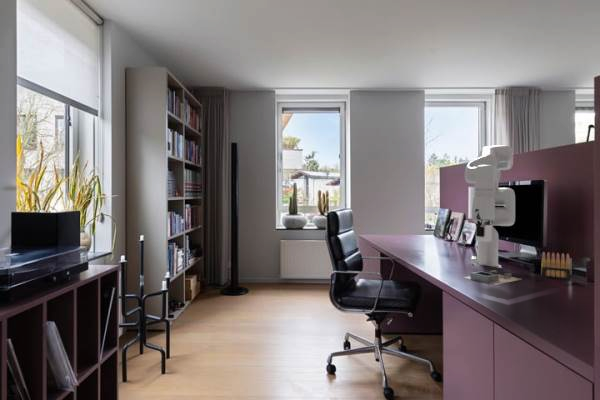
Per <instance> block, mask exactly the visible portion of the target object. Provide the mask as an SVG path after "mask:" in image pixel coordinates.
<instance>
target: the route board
mask: <svg viewBox="0 0 600 400" xmlns="http://www.w3.org/2000/svg"><path fill="white" fill-rule="evenodd" d="M489 273H492V274H497V275H499V281H495V282H490V283H489V284H491V285H495V286H497V285H501V284H505V283H511V282H516V281H522V280H523V279H522V278H520V277H519V278H518V277H514V276H512V273H511V272H507V273H503V274H499V271H498V270H496V269H495V270H494V269H493V270H489ZM470 276H471V275H469V276H463V278H465V279H469V280H471V279H470ZM472 280H473V281H475V280H474V279H472ZM476 281H478V280H476ZM478 282H479V281H478ZM480 282H482V281H480ZM482 283H483V282H482ZM485 284H488V283H487V282H485Z"/></svg>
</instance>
